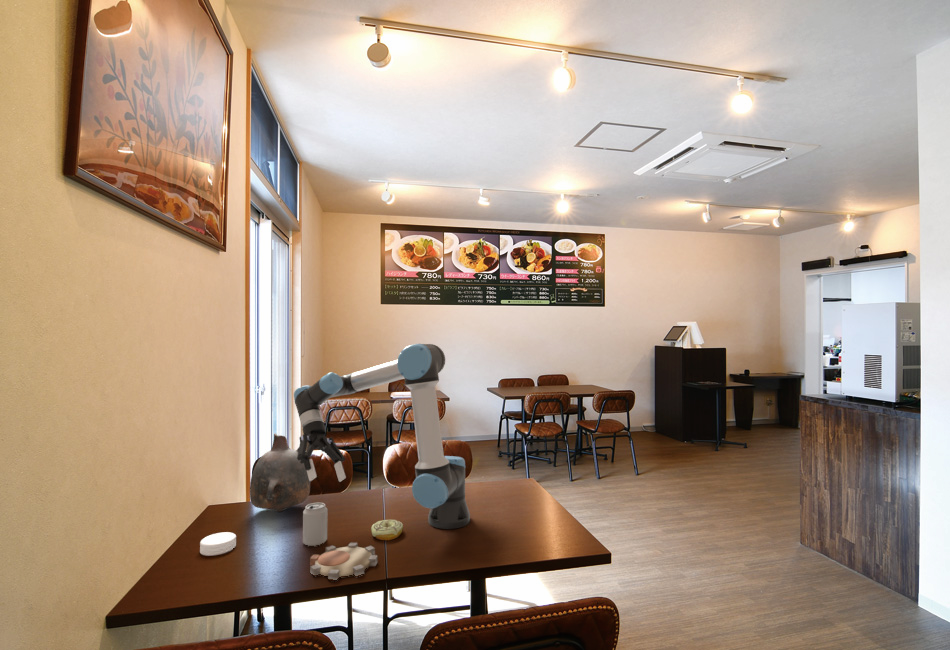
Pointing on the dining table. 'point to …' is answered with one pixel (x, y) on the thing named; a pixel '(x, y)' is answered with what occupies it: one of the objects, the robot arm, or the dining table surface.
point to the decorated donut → (387, 529)
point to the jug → (279, 478)
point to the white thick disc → (217, 543)
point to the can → (314, 524)
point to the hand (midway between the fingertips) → (328, 479)
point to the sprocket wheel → (343, 561)
